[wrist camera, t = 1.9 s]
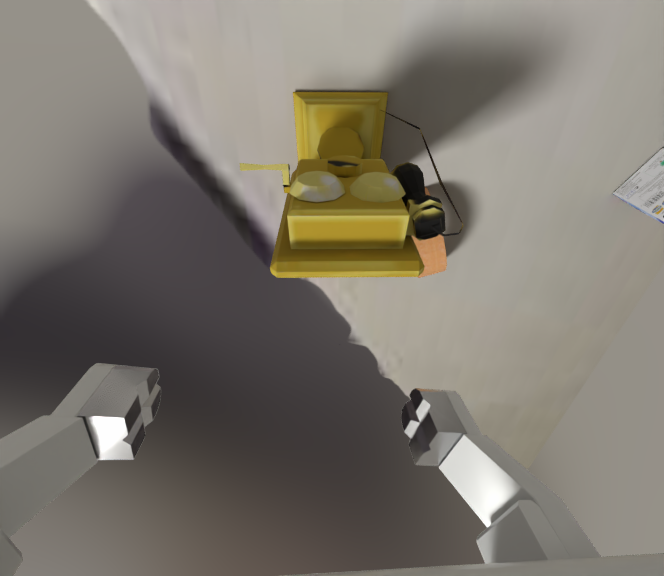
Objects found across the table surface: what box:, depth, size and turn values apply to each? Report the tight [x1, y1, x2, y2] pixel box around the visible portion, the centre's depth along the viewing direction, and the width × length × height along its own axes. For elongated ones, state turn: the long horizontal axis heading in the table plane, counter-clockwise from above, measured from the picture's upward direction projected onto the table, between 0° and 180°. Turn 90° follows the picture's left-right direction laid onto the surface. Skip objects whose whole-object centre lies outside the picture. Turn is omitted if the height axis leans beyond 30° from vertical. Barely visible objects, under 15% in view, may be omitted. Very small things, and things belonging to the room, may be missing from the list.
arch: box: [412, 187, 447, 278], centre depth 60 cm, size 6×20×10 cm, turn 20°
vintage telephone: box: [240, 92, 463, 278], centre depth 39 cm, size 31×14×30 cm, turn 90°
